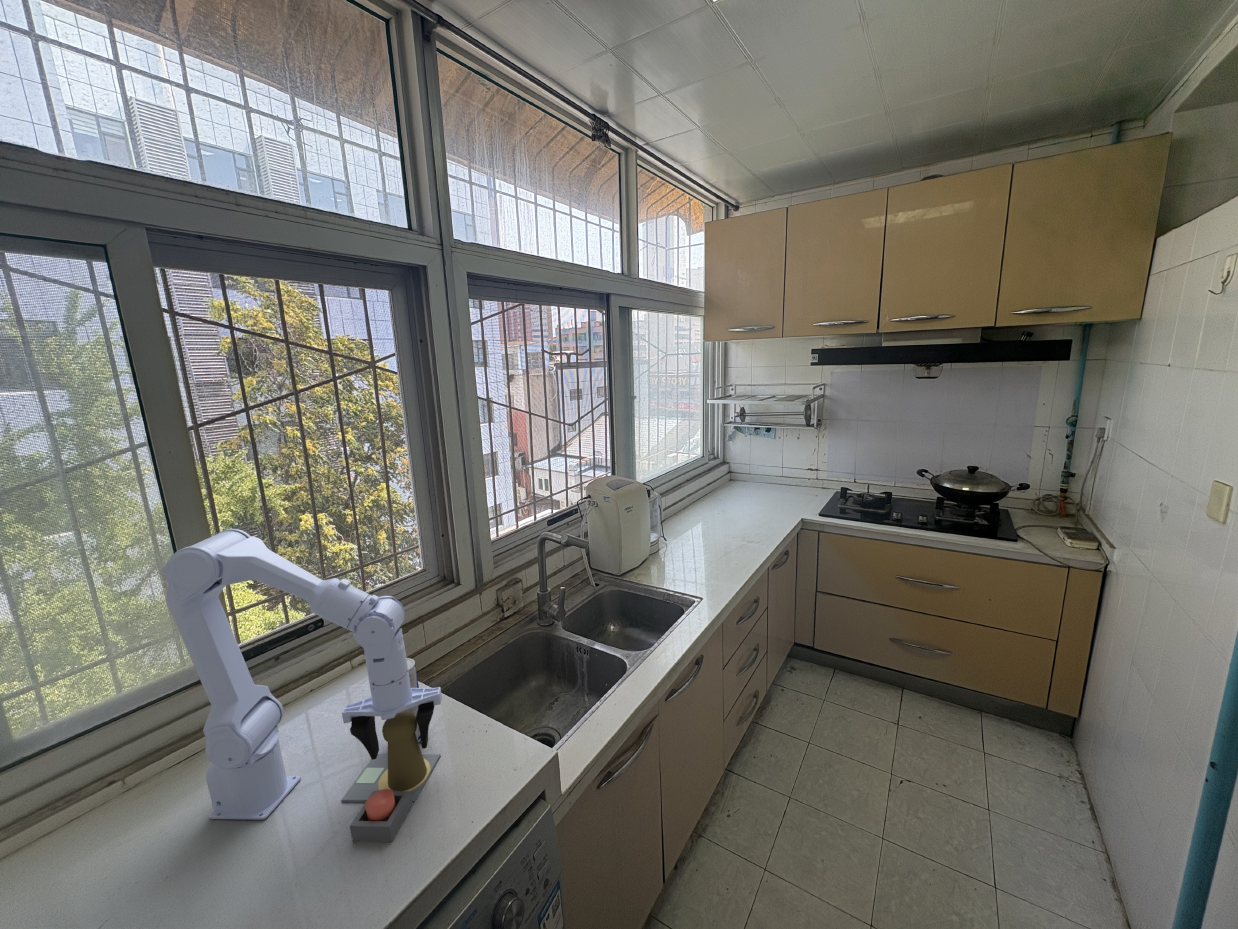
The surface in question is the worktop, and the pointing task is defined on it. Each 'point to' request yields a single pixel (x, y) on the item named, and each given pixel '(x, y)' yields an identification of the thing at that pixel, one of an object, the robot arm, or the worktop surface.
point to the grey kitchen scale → (383, 779)
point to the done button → (380, 805)
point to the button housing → (382, 829)
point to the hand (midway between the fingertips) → (400, 749)
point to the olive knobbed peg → (403, 752)
